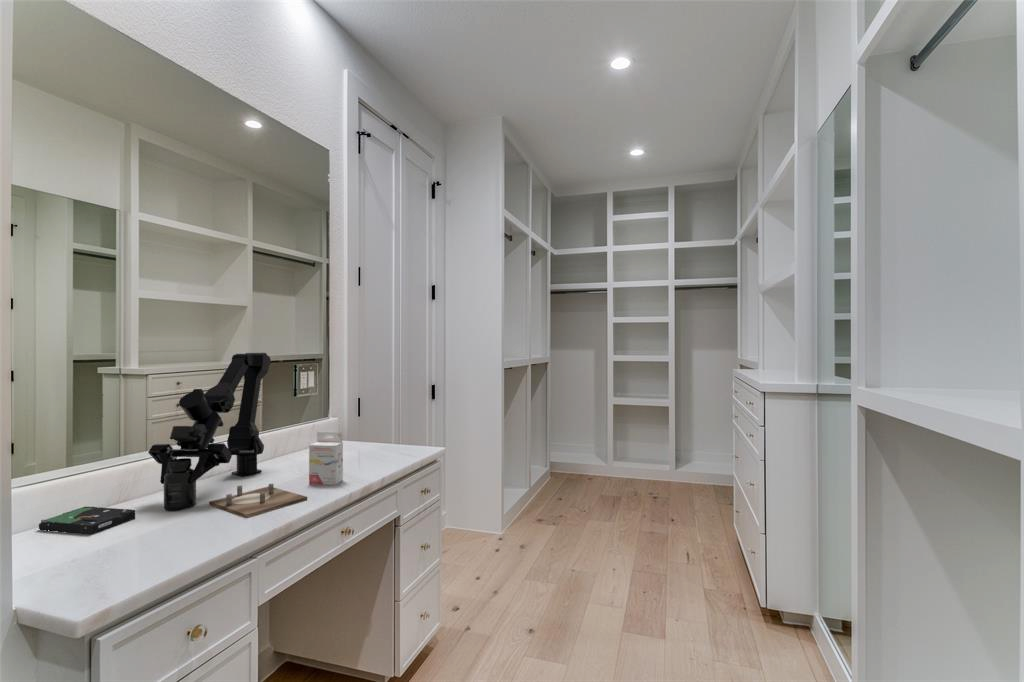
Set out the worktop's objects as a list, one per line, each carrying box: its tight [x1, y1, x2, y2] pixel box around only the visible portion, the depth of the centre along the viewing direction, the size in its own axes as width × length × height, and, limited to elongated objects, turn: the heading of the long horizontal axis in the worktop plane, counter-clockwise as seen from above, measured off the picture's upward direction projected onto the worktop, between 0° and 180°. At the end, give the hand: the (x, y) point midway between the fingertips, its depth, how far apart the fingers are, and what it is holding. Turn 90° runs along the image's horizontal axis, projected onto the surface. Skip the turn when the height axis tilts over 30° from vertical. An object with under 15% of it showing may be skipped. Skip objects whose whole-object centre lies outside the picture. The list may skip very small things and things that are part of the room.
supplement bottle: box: [163, 457, 197, 512], centre depth 124 cm, size 7×7×12 cm
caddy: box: [208, 483, 308, 519], centre depth 128 cm, size 18×16×3 cm
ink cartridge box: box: [308, 431, 344, 486], centre depth 146 cm, size 9×5×15 cm, turn 84°
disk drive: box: [38, 506, 136, 536], centre depth 113 cm, size 10×3×15 cm
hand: (176, 482), depth 123 cm, fingers closed on supplement bottle, 7 cm apart
